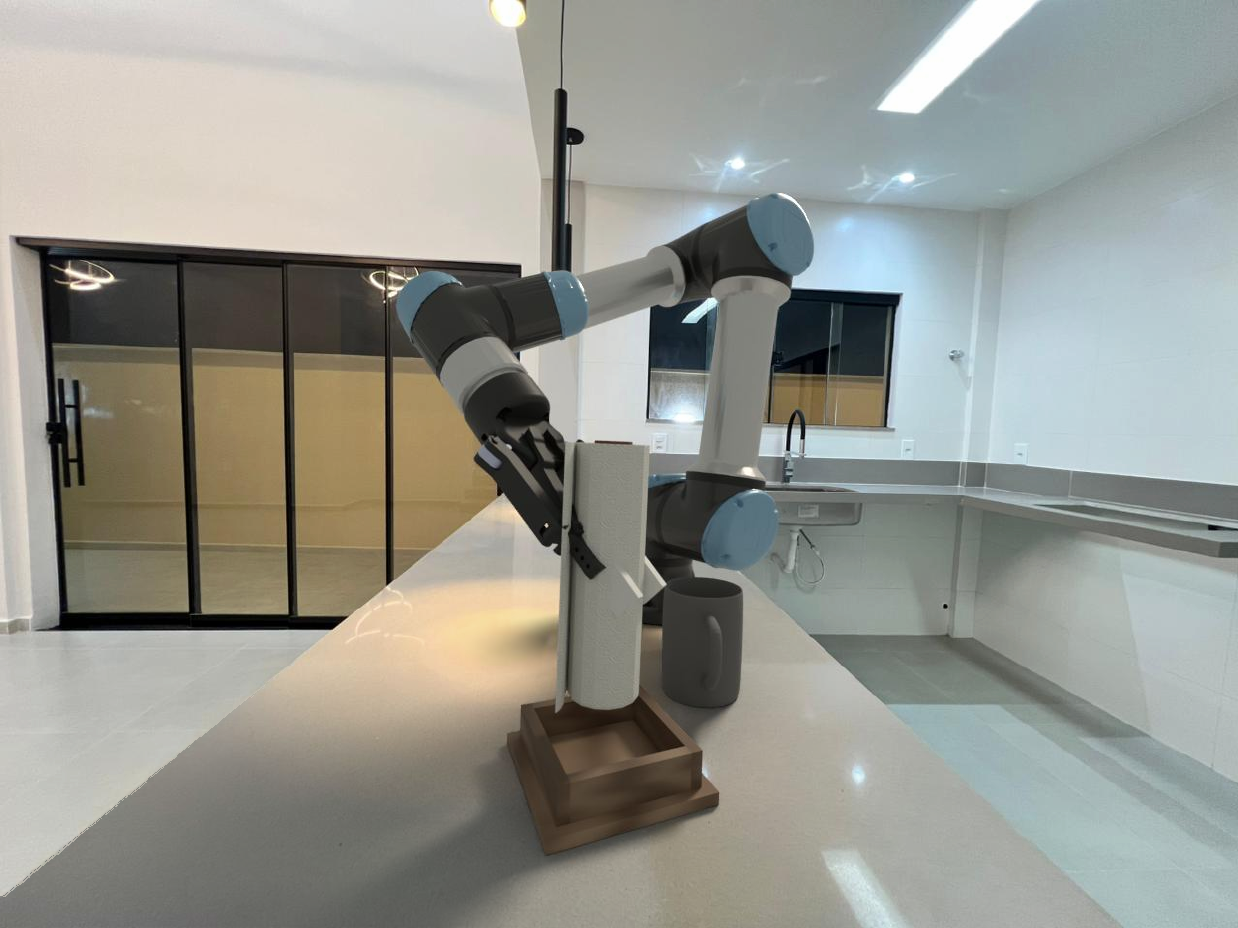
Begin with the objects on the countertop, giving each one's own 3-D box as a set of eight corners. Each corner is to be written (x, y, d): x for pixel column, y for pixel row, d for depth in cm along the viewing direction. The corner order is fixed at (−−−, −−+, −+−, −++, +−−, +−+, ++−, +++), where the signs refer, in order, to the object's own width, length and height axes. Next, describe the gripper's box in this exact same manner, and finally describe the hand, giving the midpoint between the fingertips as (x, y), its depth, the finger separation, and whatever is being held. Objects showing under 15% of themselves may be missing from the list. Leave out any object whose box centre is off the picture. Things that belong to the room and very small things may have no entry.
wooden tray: (642, 715, 54) (643, 678, 54) (718, 804, 41) (720, 754, 41) (507, 743, 48) (507, 701, 48) (545, 855, 35) (546, 798, 35)
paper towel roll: (631, 676, 47) (641, 442, 46) (646, 710, 41) (658, 443, 40) (552, 679, 46) (560, 438, 45) (555, 715, 40) (565, 439, 39)
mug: (657, 670, 65) (660, 575, 64) (730, 672, 65) (734, 577, 64) (668, 731, 51) (671, 611, 50) (760, 734, 51) (765, 613, 50)
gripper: (533, 428, 58) (659, 602, 50) (404, 420, 44) (550, 659, 36) (571, 379, 55) (713, 555, 47) (447, 354, 41) (617, 598, 33)
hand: (642, 600), depth 42 cm, fingers closed on paper towel roll, 3 cm apart
